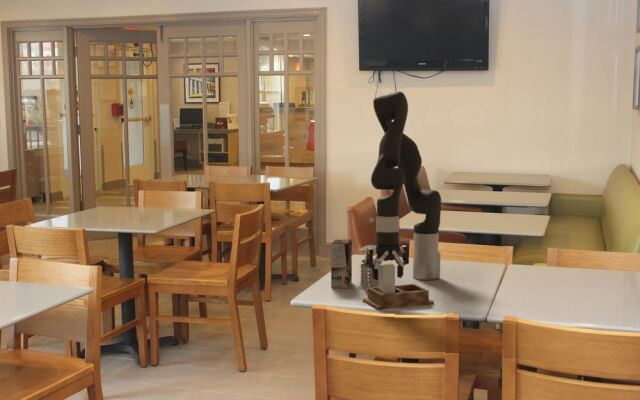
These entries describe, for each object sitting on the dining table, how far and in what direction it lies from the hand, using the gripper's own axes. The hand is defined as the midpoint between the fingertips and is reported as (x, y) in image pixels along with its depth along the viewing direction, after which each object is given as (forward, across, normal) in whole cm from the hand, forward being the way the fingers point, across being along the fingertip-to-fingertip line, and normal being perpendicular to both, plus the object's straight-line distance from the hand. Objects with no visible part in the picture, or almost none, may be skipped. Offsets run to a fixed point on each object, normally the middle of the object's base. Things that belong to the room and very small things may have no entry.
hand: (387, 278), depth 249 cm
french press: (+9, -4, -22) cm, 24 cm away
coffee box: (+9, +4, -30) cm, 32 cm away
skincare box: (+7, 0, 0) cm, 7 cm away
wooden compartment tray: (+8, -4, 0) cm, 9 cm away
